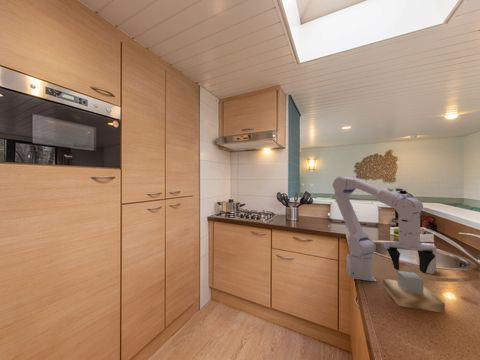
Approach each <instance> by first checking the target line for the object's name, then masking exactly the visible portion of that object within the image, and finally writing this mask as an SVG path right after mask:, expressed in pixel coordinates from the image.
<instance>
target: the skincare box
mask: <svg viewBox="0 0 480 360" xmlns="http://www.w3.org/2000/svg"><path fill="white" fill-rule="evenodd" d="M420 244H424V245H432V246H435V247H436V244H434V243H428V242H420ZM433 254H435V258H434V259H433V260H432V261H431V262H430V264H429V266H428V268H427V271H426V273H425V274H429V275H434V274H436V272H437V262H436V261H437V257H436V255H437V253H433Z"/></svg>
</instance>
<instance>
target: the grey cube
mask: <svg viewBox="0 0 480 360" xmlns="http://www.w3.org/2000/svg"><path fill="white" fill-rule="evenodd" d="M397 281H398V285H399V286H400V287H401V288H402V289H403V290H404V291H405V292H406V293H414V294H422V295H423V286H424V279H423V278H422V277H421V276H419V275H418V274H417V273H415V272H411V271H410V272H408V271H401V270H397Z"/></svg>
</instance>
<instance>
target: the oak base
mask: <svg viewBox="0 0 480 360" xmlns="http://www.w3.org/2000/svg"><path fill="white" fill-rule="evenodd" d="M382 287H383V289H384V290H385V291H386V292H387V293H388V295H389V297H391V298H392V299H393V301H394V302H395V303H396V305H397V306H399V307H404V308H412V309H416V310H424V311H429V312H435V313H436V312H437V313H443V314H445V313H446V307H445V306H446V304H445V302H444V301H443V300H441V298H439V297H438V296H436V295H435V294H434V293H433V292H432V291H430V290H429V289H428V288H427V286H425V285H423V295H422V294H414V293H406V292H405V291H404V290H403V289H402V288H401V287H400V286H399V285H398V279H397V280H396V279H389V278H388V279H386V278H382Z"/></svg>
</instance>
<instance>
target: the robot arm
mask: <svg viewBox="0 0 480 360" xmlns="http://www.w3.org/2000/svg"><path fill="white" fill-rule="evenodd" d="M332 188H333V190H334V191H333V192H334V199H335V202H336V204H337V206H338V209H339V211H340V214H341V217H342V218H343V221H344V223H345V225H346V229H347V231H348V233H349V235H348V238H347V242H348V250H349V252H350V253H347V254H346V268H345V270H346V272H347V275H348V277H349V278H350V279H353V280H362V281H369V282H377V279H376V278H375V276H373V256H374V253H375V252H376V250H377V246H376V243H375V242H374V240H372V239H371V237H370V235H369V234H368V233H366V232H365V231H364V230H363V227H362V226H361V223H360V221H359V218H358V217H357V214H356V212H355V210H354V207H353V205H352V203H351V201H350V196H351V195H352V193H354V192H355V191H356V190H360V191H362V192H365V193H367V194H369V195H372V196H374V197H375V198H376V200H377V201H378V202H380V203H382V204H384V205H386V206H388V207H390V208H392V209H395V211H396V213H397V214H398V218H397V219H398V222H397V223H398V227H397V228H398V241H383V247H384V248H385V250H387V253H388V254H389V257H390V258H391V261H392V265H393V268H394V269H395V270H396V271H400V257H401V253H400V252H399V250H403V251H404V250H406V251H417V255H418V261H419V262H418V264H419V271H420V272H421V273H423V274H427V273H426V271H427V268H428V266H429V264H430V262H431V261H432V260H433V259H434V258H435V254H433V253H436V254H437V253H438V251H437V250H438V248H437V246H436V245H435V246H432V245H424V244H421V217H420V216H421V212H422V211H423V208H424V204H423V202H422V201H421V200H419V199H417V197H413V196H412V197H411V196H410V197H408V195H407V194H404V193H399V192H397V191H394V189H393V188H391V187H383V188H380V187H377V186H375V185H373V184H371V183H368V182H366V181H364V180H362V179H361V178H359V177H358V178H357V177H356V176H337V177H335V179H334V180H333V183H332Z"/></svg>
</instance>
